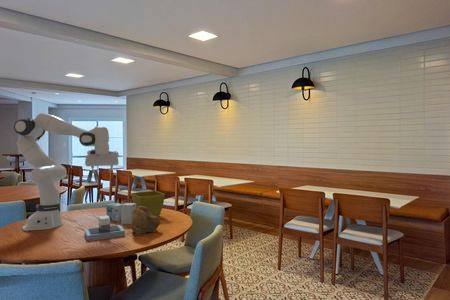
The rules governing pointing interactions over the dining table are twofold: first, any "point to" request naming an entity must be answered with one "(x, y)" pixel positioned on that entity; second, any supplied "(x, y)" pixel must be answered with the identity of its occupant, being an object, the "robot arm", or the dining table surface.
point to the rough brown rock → (143, 221)
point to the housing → (104, 223)
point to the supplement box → (127, 212)
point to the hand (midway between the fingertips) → (102, 172)
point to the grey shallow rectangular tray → (104, 233)
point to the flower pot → (149, 201)
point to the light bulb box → (114, 211)
